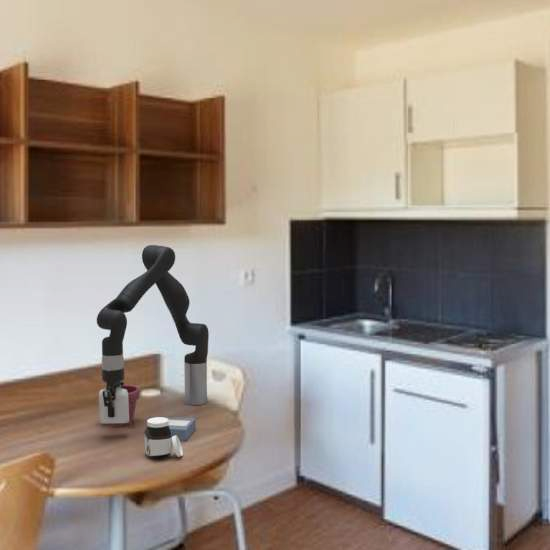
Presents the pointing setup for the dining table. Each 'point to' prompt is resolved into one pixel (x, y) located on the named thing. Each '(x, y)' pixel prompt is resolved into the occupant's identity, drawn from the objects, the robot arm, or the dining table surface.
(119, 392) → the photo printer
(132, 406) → the plant pot
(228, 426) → the dining table surface
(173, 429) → the base block
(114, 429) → the dining table surface
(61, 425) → the dining table surface
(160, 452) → the spread jar
